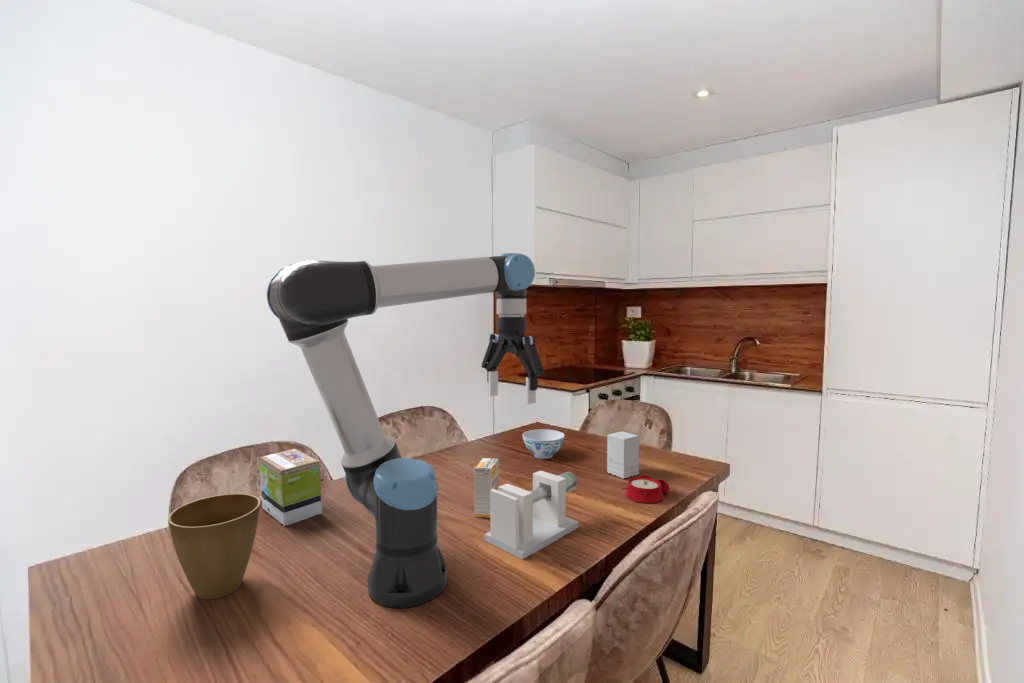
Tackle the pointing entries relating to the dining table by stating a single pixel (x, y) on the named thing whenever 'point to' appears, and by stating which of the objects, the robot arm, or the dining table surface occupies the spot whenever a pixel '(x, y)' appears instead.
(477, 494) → the supplement box
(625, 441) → the supplement box
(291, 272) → the robot arm
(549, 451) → the chinaware
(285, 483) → the tea box
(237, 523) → the plant pot
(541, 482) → the housing
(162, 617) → the dining table surface
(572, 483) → the shaft
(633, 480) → the alarm clock
